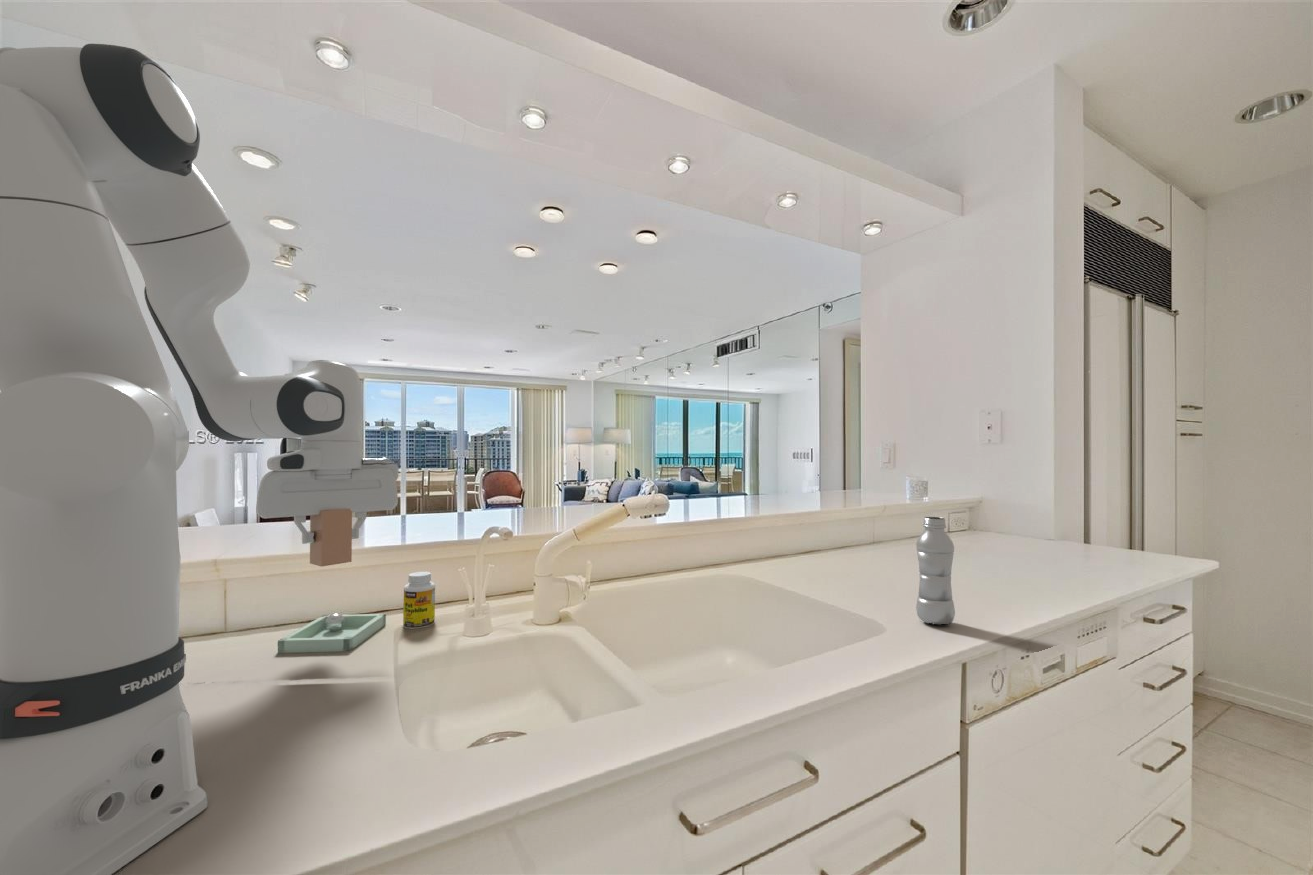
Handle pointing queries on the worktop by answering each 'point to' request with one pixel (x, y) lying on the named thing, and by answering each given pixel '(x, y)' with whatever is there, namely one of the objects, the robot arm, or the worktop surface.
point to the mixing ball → (334, 622)
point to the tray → (332, 634)
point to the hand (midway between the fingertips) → (330, 540)
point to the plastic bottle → (935, 573)
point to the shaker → (331, 537)
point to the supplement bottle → (419, 601)
